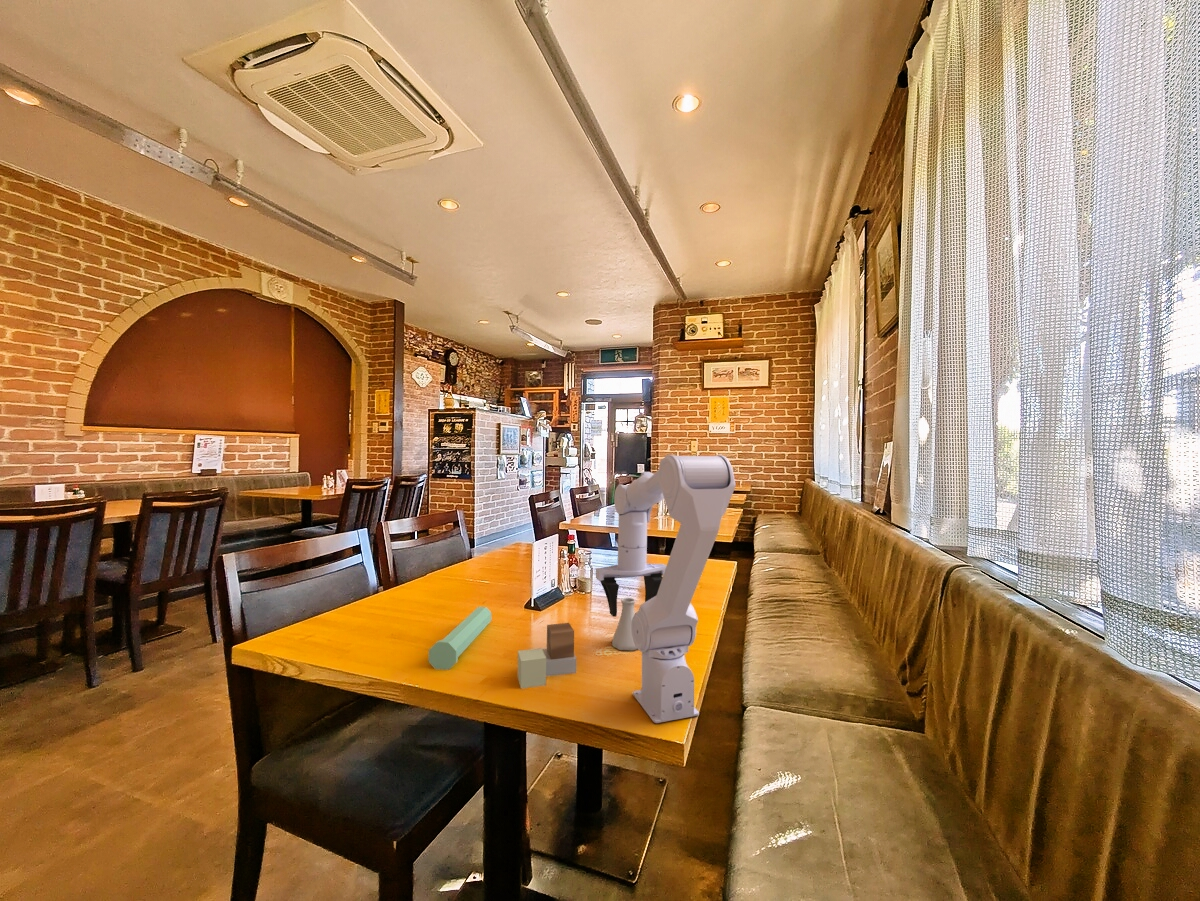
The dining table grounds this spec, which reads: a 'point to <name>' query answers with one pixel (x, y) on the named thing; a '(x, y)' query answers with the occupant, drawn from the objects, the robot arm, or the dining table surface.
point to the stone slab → (559, 665)
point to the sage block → (531, 668)
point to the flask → (625, 627)
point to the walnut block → (560, 640)
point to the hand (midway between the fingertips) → (631, 612)
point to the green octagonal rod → (458, 639)
